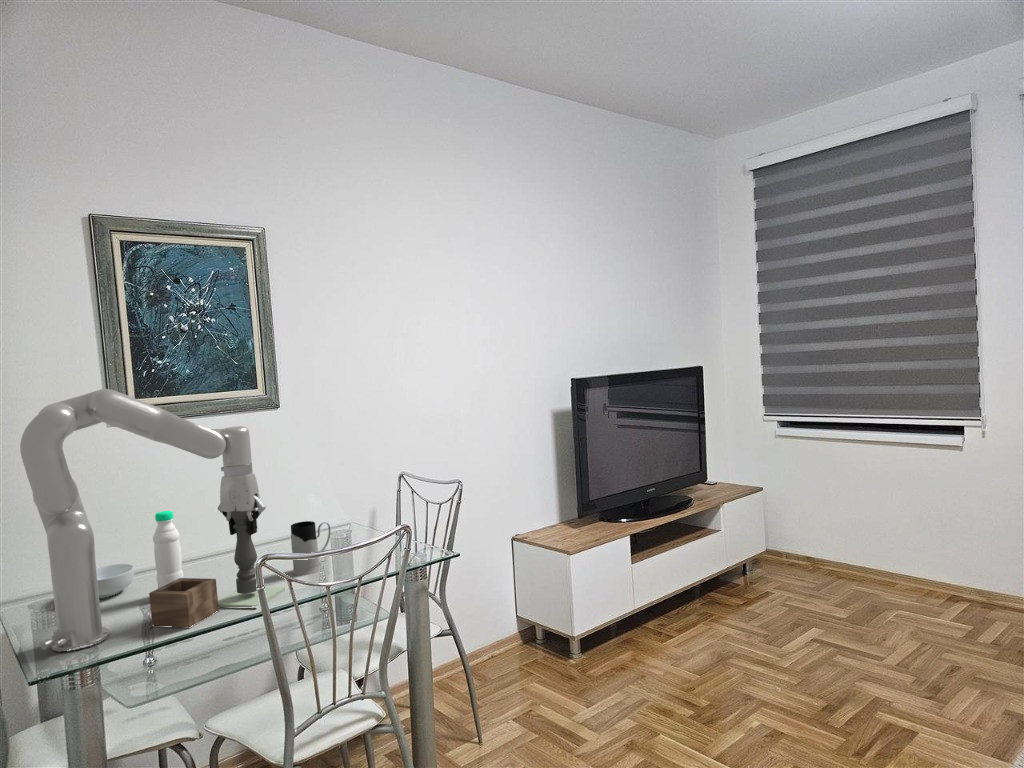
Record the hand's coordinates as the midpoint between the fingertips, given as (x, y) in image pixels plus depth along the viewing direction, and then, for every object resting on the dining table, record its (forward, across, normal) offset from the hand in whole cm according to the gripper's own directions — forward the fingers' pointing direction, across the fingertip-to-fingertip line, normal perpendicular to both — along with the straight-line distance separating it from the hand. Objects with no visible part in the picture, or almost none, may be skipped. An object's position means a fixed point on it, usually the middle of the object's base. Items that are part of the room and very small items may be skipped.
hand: (243, 533), depth 198 cm
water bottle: (+19, -27, +1) cm, 33 cm away
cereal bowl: (+19, -50, 0) cm, 54 cm away
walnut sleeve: (+19, -9, -15) cm, 26 cm away
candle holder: (+17, 0, 0) cm, 17 cm away
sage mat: (+19, 0, 0) cm, 19 cm away
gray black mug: (+19, +5, +27) cm, 34 cm away
